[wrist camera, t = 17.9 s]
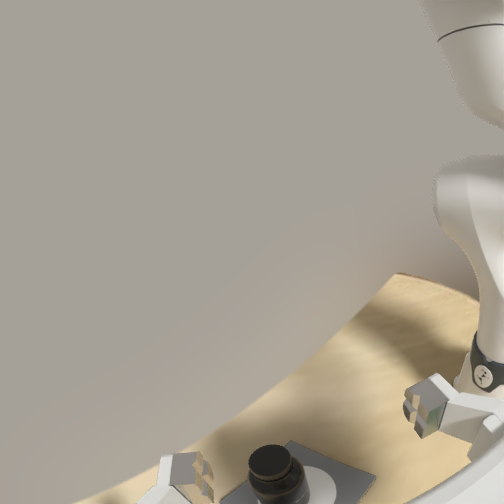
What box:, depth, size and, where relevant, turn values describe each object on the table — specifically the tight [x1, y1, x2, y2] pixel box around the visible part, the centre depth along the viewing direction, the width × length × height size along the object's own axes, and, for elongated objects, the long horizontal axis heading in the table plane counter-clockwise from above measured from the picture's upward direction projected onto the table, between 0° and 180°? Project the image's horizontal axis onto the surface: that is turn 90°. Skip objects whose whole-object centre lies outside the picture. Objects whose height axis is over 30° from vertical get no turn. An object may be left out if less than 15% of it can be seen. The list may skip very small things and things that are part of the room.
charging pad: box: [219, 440, 376, 504], centre depth 28 cm, size 16×16×1 cm
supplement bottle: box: [248, 445, 310, 504], centre depth 26 cm, size 7×7×12 cm
